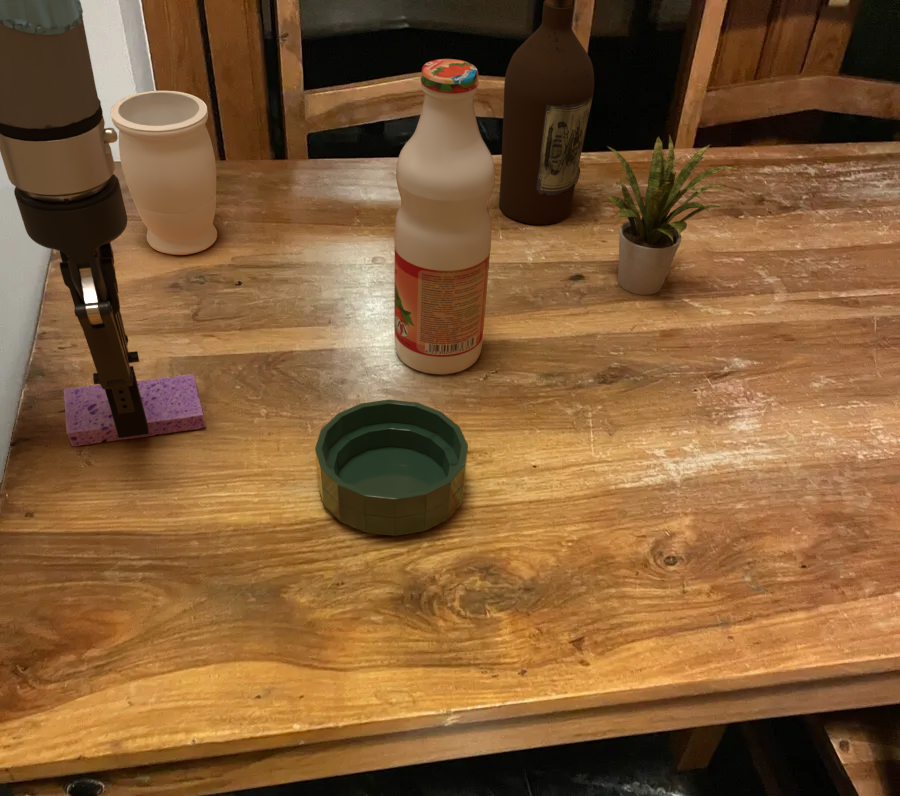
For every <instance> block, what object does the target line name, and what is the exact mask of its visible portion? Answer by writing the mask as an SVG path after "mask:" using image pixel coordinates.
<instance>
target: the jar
mask: <svg viewBox="0 0 900 796" xmlns="http://www.w3.org/2000/svg"><path fill="white" fill-rule="evenodd" d="M110 117H111V121H112V124H113V126H114V127H115V128H116V129H117V130H118V148H119V149H118V151H119V159H120V165H121V169H122V173H123V177H124V180H125V183H126V186H127V188H128V191H129V194H130V197H131V198H132V201H133V204H134V207H135V209H136V212H137V214H138V216H139V218H140V219H141V221H142V222H143V224H144V225H145V227H146V228H147V231H146V241H147V243H148V245H149V246H150V247H151V248H152V249H153V250H155V251H157V252H160V253H163V254H166V255H174V256H184V255H185V256H186V255H192V254H196V253H200V252H203V251H204V250H207V249H208V248H210V247H211V246H213V244H214V243H215V242H216V240H217V238H218V231H217V228H216V227H215V225H214V224H213V223H214V219H215V216H216V210H217V179H218V178H217V177H218V176H217V164H216V156H215V152H214V147H213V143H212V140H211V137H210V133H209V131H208V128H207V126H206V124H207V121H208V120H209V119H208V118H209V111H208V106H207V104H206V103H205V102H204V101H203V99H201V98H199V97H198V96H195V95H193V94H190V93H187V92H183V91H174V90H150V91H143V92H142V91H141V92H138V93H133V94H131V95H127V96H125V97H124V98H121V99H120V100H118V101H116V102H115V103H114V104H113V105H112V107H111V108H110Z"/></svg>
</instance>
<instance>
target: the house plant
mask: <svg viewBox="0 0 900 796" xmlns="http://www.w3.org/2000/svg"><path fill="white" fill-rule="evenodd" d="M671 137H672V136H671V134H669V135H668V154H667V159H666V157H665V153H664V150H663V141H662V140H661V139H660V135H658V136H657V138H656V141H655V143H654V147H653V152H652V158H651V164H650V169H649V173H648V178H647V187H646V191H645V197H644V199H643V197H642V194H641V191H640V187H639V184H638V181H637V177H636V176H635V173H634V171H633V168H632V167H631V166H630V164H629V162H628V161H627V160H626V159H625V158H624V157H623V155H621V154H620V153H619V152H618V150H616V149H615V148H613V147H610V146H608V145H606V147H607V148H608V149H609V150H610V151H611V152H612V153H613V155H614V156H615V157H616V158H617V160H618V161H619V163H620V164H621V166H622V168H623V170H624V172H625V174H626V175H625V174H623V173H622V172H620V174H621V175H622V176H623V178H624V179H625V180H626V181H627V182H628V184H629V186H630V187H631V190H632V192H633V195H634V197H635V200H636V203H637V206H638V209H639V210H638V209H637V207H636V204H635V202H634V200H633V198H632V196H631V194H630V192H629V190H628V188H627V186H626V184H625V183H624V182H623V181H622V180H621V179H619V184H620V186H621V193H622V197H623V199H622V198H621V197H618V196H614V195H611V196H606V197H605V199H606V198H607V199H608V201H609V202H611V203H612V204H613V205H615V206H616V207H617V208H618V209H619V210H618V212H617V213H616V215H615V216H614V217H613V219H615V218H617V217H618V218H627V220H628V221H625V222H623V223H622V225H621V226H620V228H619V234H618V235H619V236H618V237H619V238H618V267H617V269H618V270H617V271H618V274H617V282H618V285H619V286H620V287H621V288H622V289H624V290H625V291H627V292H630V293H632V294H634V295H641V296H643V295H644V296H646V295H653V294H656V293H658V292H659V291H660V290H661V289H662V287H663V285H664V282H665V279H666V277H667V275H668V272H669V270H670V267H671V265H672V263H673V262H674V259H675V256H676V254H677V252H678V249H679V247H680V244H681V242H682V235H681V233H682V232H683V231H685V230H686V229H687V227H688V224H687V220H689V219H690V218H692V217H694V216H695V215H697V214H698V213H701V212H703V211H705V210H707V212H710V210H709V209H712V208H716V209H717V208H722V206H721V205H715V204H708V205H703V204H702V203H700V202H697V201H691V200H693V199H694V198H695V197H696V196H698V195H699V194H701V195H705V193H704V192H705V191H707V190H709V189H713V188H726V186H725V185H720V184H708V185H704V186H703V187H701V188H699V187H697V186H695V185H696V184H697V183H699V182H700V181H702V180H703V179H705V178H707V177H709V176H711V175H713V174H715V173H717V172H720V171H723V170H724V171H725V170H726V171H727V170H737V169H741V168H740V167H736V166H726V165H725V166H724V165H723V166H715V167H711V168H709V169H707V170H705V171H703V172H701V173H699V174H698V175H696V176H695V177H694V178H693V179H692V180H690V181H689V183H688V184H687V185H686V186H685V187H684V188H683V189H682V190H681V188H682V187H683V186H684V184H685V183H686V181H687V180H688V178H689V177H690V175H691V174H692V173H693V172H694V170H695V169H696V168H697V166H698V165H699V163H700V162H701V161H702V160H703V159H704V157H703V155H704V154H705V153H706V152H707V151H708V150H709V148H710V147H711V145H712V144H707V145H706V146H704V147H701V148H700V149H699V150H697V152H695V154H694V155H692V157H691V158H690V159H689V161H688V162H687V163H686V164H685V166H684V167H683V168H682V169H681V171H680V172H679V173H678V175H676V174H677V171H674V168H675V163H676V162H677V161H679V160H680V158H677V159H676V158H675V149H674V143H673V142H674V141H673V140H672V138H671ZM675 159H676V160H675ZM680 190H681V191H680ZM690 190H693V191H695V192H693V193H692V194H691V195H690V196H689V197H688V198H687V199H686V200H685V201H684V202H683V203H682V204H681V205H679V206H678V207H676V208H675V209H673V210H672V208H673V207H674V206H675V205H676V204H677V203H678V201H679V200H680V199H681V198H682V197H684V195H685V194H687V192H688V191H690ZM689 209H695V210H693V211H691V212H689V213H688V214H687V215H685V216H684V217H683V218H681V219H680V220H676V221H673V222H671V221H672V220H673V219H674V218H675V217H676V216H677V215H680V214H681V213H683V212H684V211H687V210H689ZM671 210H672V211H671ZM639 211H640V213H639ZM670 211H671V212H670ZM640 214H641V215H640Z"/></svg>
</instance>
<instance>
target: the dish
mask: <svg viewBox="0 0 900 796" xmlns="http://www.w3.org/2000/svg"><path fill="white" fill-rule="evenodd" d="M468 452H469V444H468V442H467V440H466V438H465V435H464V433H463V431H462V429H461V427H460V426H459V425H458V424H457V423H456V422H454V421H453V420H452V419H451V418H449V417H448V415H446V414H445V413H443V412H442V411H441V410H438V409H435V408H432V407H430V406H428V405H424V404H422V403H420V402H415V401H407V400H397V399H382V400H376V401H375V400H374V401H367V402H361V403H359V404H356V405H354V406H352V407H350V408H347V409H345V410H342V411H340V412H338V413H337V414H335V415H334V416H333V417H332V418H331V419H330V420H329V421H328V422H327V423H326V424H325V425H323V427H322V428H321V429H320V432H319V434H318V438H317V441H316V444H315V447H314V454H315V464H316V465H315V466H316V478H317V487H318V490H319V494H320V497H321V501H322V504H323V506H324V507H326V509H327V510H328V511H329V512H330V513H331V514H332V515H333V516H334V517H335V518H336V519H337V520H338V521H339V522H340V523H343V524H345V525H347V526H350V527H351V528H354V529H356V530H358V531H361V532H363V533H366V534H372V535H373V534H375V535H381V536H382V535H384V536H392V537H398V536H404V535H409V534H415V533H421V532H426V531H428V530H429V529H431V528H434V527H435V526H438V525H440V524H441V523H443V522H446V521H447V520H449V518H451V516H452V514H454V512H456V510H457V508H458V507H459V506H460V505H461V503H462V502H463V500H464V493H465V485H466V480H467V479H466V478H467V467H468V466H467V465H468Z"/></svg>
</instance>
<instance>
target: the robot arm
mask: <svg viewBox="0 0 900 796" xmlns="http://www.w3.org/2000/svg"><path fill="white" fill-rule="evenodd" d="M83 13H84V10H83V7H82V2H81V0H0V156H1V159H2V162H3V165H4V168H5V169H4V170H5V172H6V175H7V178H8V180H9V182H10V183H11V185H13V186H14V190H13V191H14V197H15V201H16V203H17V206H18V211H19V213H20V216H21V220H22V223H23V226H24V229H25V231H26V234H27V235H28V237H29V238H30V239H31V240H32V241H33V242H34V243H36V244H38V245H39V246H41V247H44V248H47V249H49V250H51V249H52V250H54V251H55V250H56V251H58V252H59V255H60V259H61V262H59V269H60V274H61V277H62V280H63V284H64V285H65V286H66V287H67V288H68V290H69V293H70V295H71V298H72V299H71V300H72V303H73V306H74V315H75V317H76V318H77V321H78V322H79V324H80V327H81V329H82V331H83V334H84V337H85V338H84V339H85V341H86V344H87V347H88V349H89V352H90V356H91V359H92V361H93V365H94V368H95V370H96V372H94V373H92V379H93V384H94V385H101V387H102V388H103V389H105V391H106V395H107V398H108V402H109V405H110V409H111V412H112V416H113V419H114V423H115V426H116V430H117V433H118V437H119V438H123V437H130V436H137V435H144V434H149V430H148V423H147V419H146V415H145V411H144V408H143V404H142V400H141V396H140V392H139V388H138V384H137V381H138V380H137V377H136V372H135V369H134V366H133V365H130V364H132V363H140V358H139V357H140V356H139V353H138V350H136V351H129V348H128V344H129V337H128V335H127V334H126V330H125V326H124V321H123V317H122V313H121V304H120V297H119V294H118V293H119V286H118V280H117V275H116V267H115V257H114V251H113V247H112V243H111V242H113V241H115V240H116V239H117V238H119V237H120V236H121V235H122V234H123V233H124V232H125V230H126V228H127V224H128V215H127V210H126V206H125V202H124V201H125V200H124V197H123V193H122V189H121V184H120V180H119V178H118V177H117V175H116V174H114V172H115V170H116V168H115V167H116V166H115V165H116V164H115V161H114V157H113V152H112V147H111V145H110V144H114V143H116V142H117V141H118V140H119V136H118V133H117V131H116V130H115V128H114V127H106V128H105V126H106V125H105V123H106V122H105V118H104V115H103V108H102V104H101V103H102V102H101V100H100V98H99V97H98V96H99V95H98V91H97V86H96V80H95V76H94V75H95V74H94V71H93V65H92V59H91V54H90V49H89V44H88V38H87V33H86V28H85V24H84V16H83Z"/></svg>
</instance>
